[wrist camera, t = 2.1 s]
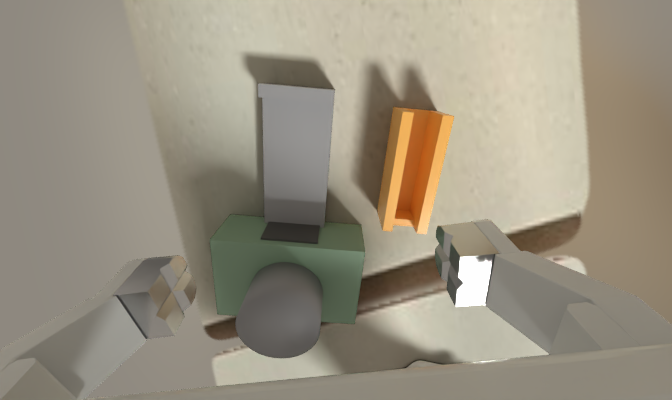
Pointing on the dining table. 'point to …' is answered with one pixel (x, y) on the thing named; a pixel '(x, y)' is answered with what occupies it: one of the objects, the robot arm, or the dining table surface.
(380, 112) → the dining table surface
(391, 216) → the chute
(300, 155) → the green coffee machine
